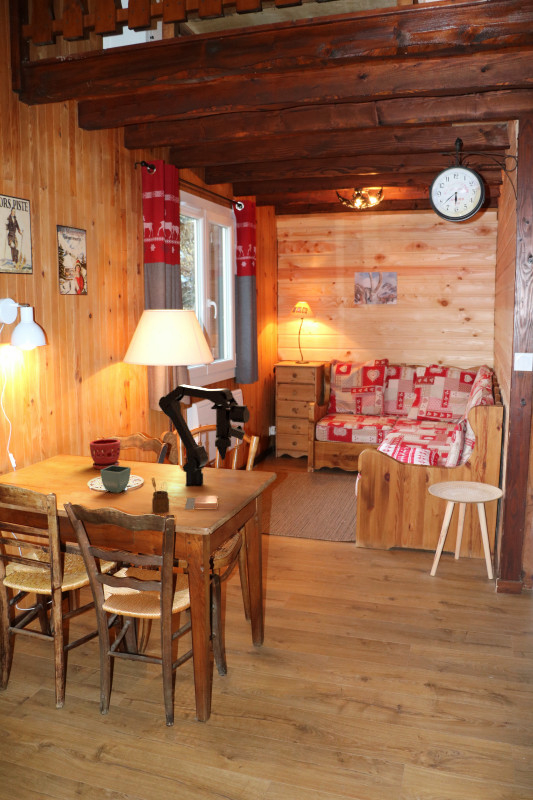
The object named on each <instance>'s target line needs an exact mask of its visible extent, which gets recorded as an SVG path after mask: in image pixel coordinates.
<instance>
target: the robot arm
mask: <svg viewBox="0 0 533 800" xmlns="http://www.w3.org/2000/svg"><path fill="white" fill-rule="evenodd" d="M185 396H186V397H192V398H198V399H203V400H208V401H210V403H211V402H212V403H213V405H212V406H211V407H210V409H211V410H215V439H214V447H215V448H216V449H217V451H218V454H219V456H220V459H221V460H223V461H224V460H225V459H226V454H227V451H228V448H229V447H232V437H233V438H236V439H238V440H240V441H243V440H244V437H245V435H246V431H245V430H244V429H243V425H237V426H236V427H235V426H232V423H242V424H247V423H248V422H249V421H250V418H251V417H250V416H251V413H250V410H249V409H248V405H245V404H244V405H239V403H238V402H237V400H236V399H235V396H234V395H233V392H232V390H231V389H230V388H214V389H213V388H212V389H211V388H205V387H200V386H192V385H187V384H181V385H178V386H176V387H175V388H174V389H173V390H171V391H170V392H169V393H167V394H166V395H163V396H161V397H160V398H159V401H158V407H159V409H161V411H162V412H163V414H164V415H166V416H167V417H168V418H169V419H170V421H171V423H172V424H173V426H174V428H175V430H176V432H177V434H178V436H179V438H180V440H181V442H182V444H183V447H184V448H185V457H186V463H185V464H183V466H182V470H183V472H184V473H185V487H202V486H203V484H204V472H203V469H204V468H205V466H206V465H207V463H208V462H209V461H208V460H209V456H208V455H209V453H208V452H207V451H206V448H205V446H204V445H202V446H200V445H199V444H198V443H197V442H196V440H195V438H194V436H193V433H192V432H191V429H190V428H189V426H188V424H187V422H186V420H185V418H184V416H183V414H182V406H181V403H180V402H181V401H182V400H183V399H184V397H185ZM231 421H232V422H231Z"/></svg>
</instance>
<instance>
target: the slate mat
mask: <svg viewBox="0 0 533 800" xmlns="http://www.w3.org/2000/svg"><path fill="white" fill-rule="evenodd" d="M195 498H196V497H186V500H185V501H186V503H185V506H184V510H185V511H186V510H190V509H193V508H194V509H195ZM190 511H191V510H190Z"/></svg>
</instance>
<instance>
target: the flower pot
mask: <svg viewBox="0 0 533 800" xmlns="http://www.w3.org/2000/svg"><path fill="white" fill-rule="evenodd" d="M99 470H100V478H101V482H102V485H103V487H104V489H105V490H106V491H107V490H108V491H110V492H109V493H115V494H116V493H117V494H119V493H120V492H122V490H123V489H125V490H126V488H127V487H128V484H129V482H130V478H131V471H132V468H131V467H130V466H122V465H118V466H113V465H112V466H109V467H107V468H105V469H99ZM108 491H107V492H108ZM123 491H124V490H123Z"/></svg>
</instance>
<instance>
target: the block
mask: <svg viewBox="0 0 533 800" xmlns="http://www.w3.org/2000/svg"><path fill="white" fill-rule="evenodd" d="M194 498H195V508H217V498H218V495H195V497H194Z"/></svg>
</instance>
